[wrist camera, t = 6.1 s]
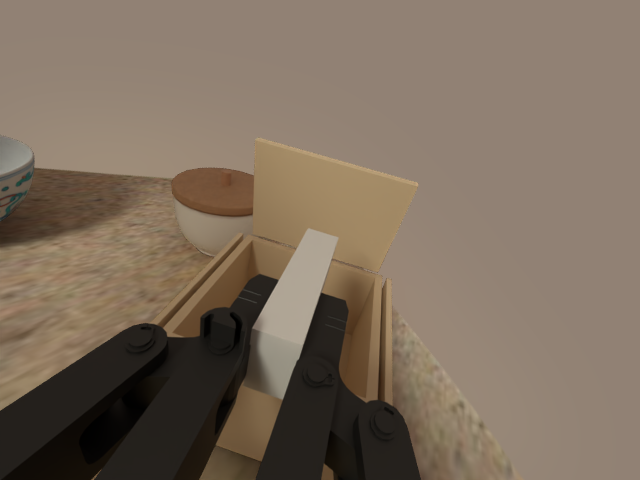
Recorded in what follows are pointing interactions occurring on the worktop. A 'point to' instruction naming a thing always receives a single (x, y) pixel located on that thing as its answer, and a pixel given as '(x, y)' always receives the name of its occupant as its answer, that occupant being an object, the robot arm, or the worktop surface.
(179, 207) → the lidded jar
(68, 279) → the worktop surface
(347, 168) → the flap
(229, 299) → the carton
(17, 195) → the chinaware
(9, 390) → the worktop surface
